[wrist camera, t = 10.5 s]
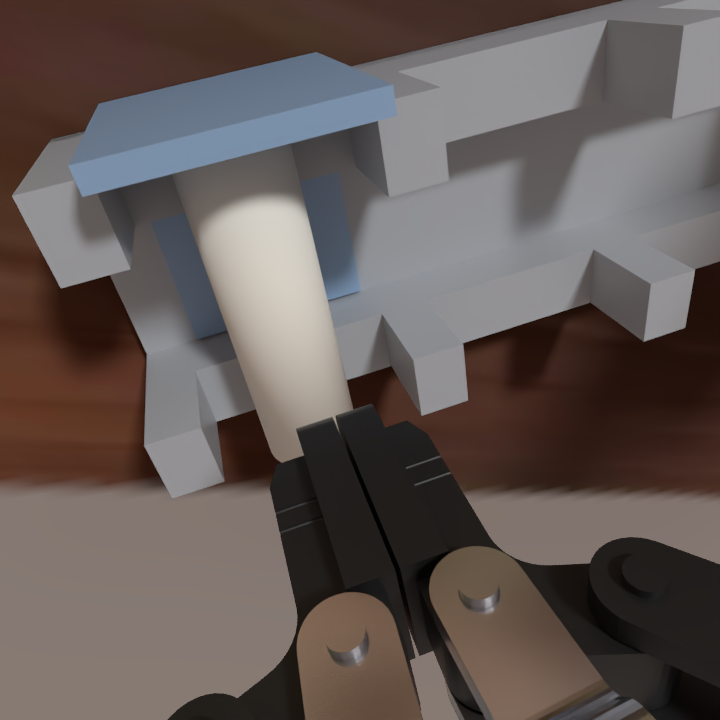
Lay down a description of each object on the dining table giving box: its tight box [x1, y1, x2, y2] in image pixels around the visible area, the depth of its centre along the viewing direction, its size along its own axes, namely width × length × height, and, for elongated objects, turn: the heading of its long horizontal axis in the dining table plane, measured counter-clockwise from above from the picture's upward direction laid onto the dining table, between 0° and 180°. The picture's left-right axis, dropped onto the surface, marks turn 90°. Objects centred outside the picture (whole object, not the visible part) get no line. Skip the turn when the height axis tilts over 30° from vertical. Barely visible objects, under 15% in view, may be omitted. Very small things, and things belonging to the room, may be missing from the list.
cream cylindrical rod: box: [171, 143, 353, 463], centre depth 17 cm, size 10×3×3 cm, turn 10°
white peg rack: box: [12, 0, 720, 499], centre depth 18 cm, size 10×26×7 cm, turn 100°
